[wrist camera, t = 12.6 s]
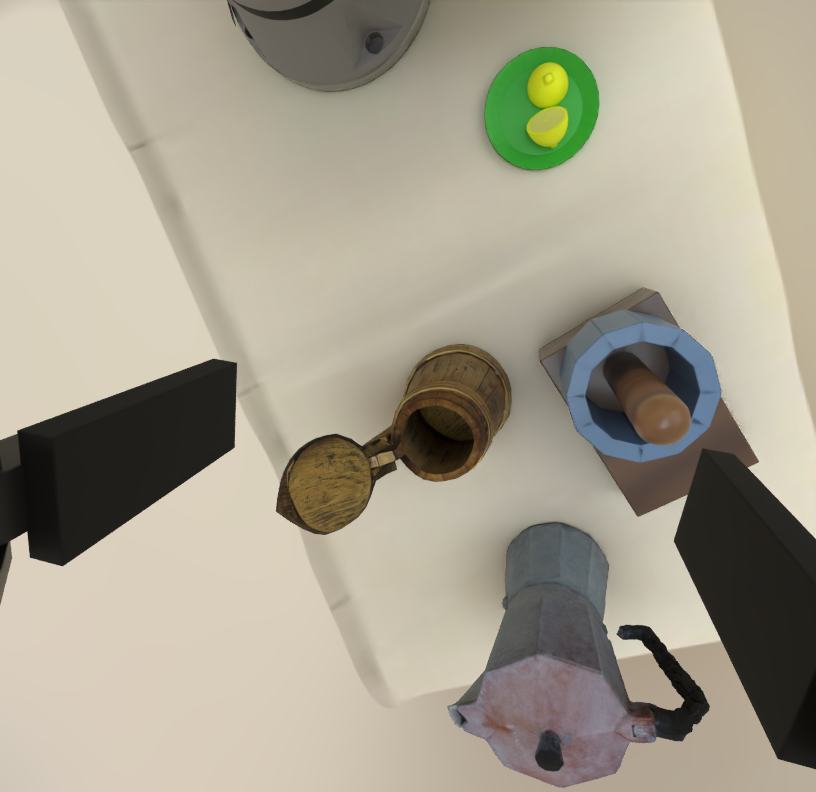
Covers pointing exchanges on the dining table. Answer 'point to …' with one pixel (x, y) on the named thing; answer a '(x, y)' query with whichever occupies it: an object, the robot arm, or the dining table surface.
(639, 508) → the peg box
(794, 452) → the dining table surface
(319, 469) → the wooden mug
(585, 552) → the moka pot
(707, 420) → the blue faceted cup
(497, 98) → the green plate
